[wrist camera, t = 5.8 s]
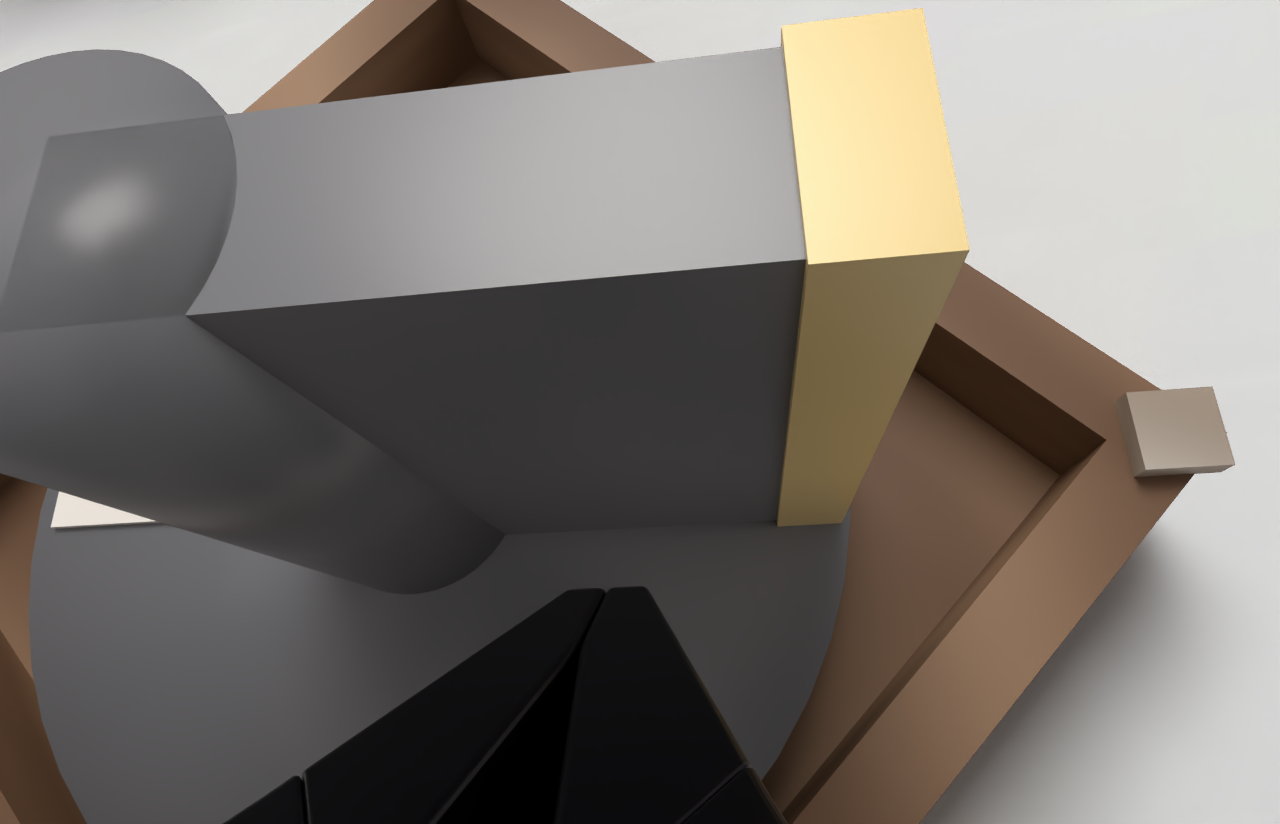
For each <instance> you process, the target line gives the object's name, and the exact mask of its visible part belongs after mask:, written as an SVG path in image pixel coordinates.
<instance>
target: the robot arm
mask: <svg viewBox="0 0 1280 824" xmlns="http://www.w3.org/2000/svg"><path fill="white" fill-rule="evenodd" d="M223 824H788V823H787V821H786V819H785V818H784V816H783V815H782V813H781V812H780V810H779V809H778V807H777V806H776V804H775V803H774V801H773V799H772V798H771V796H770V794H769V793H768V791H767V789H766V787H765V786H764V784H763V782H762V781H761V779H760V777H759V776H758V774H757V772H756V771H755V770H754V769H753V768H752V767H751V764H750V762H749V761H748V759H747V757H746V755H745V754H744V752H743V750H742V749H741V747H740V745H739V743H738V742H737V740H736V738H735V737H734V735H733V733H732V731H731V730H730V728H729V726H728V725H727V723H726V721H725V719H724V718H723V716H722V714H721V713H720V711H719V709H718V707H717V706H716V704H715V702H714V701H713V699H712V697H711V696H710V694H709V692H708V690H707V689H706V687H705V685H704V684H703V682H702V680H701V678H700V677H699V675H698V673H697V672H696V670H695V668H694V666H693V665H692V663H691V661H690V660H689V658H688V656H687V654H686V653H685V651H684V649H683V648H682V646H681V644H680V642H679V641H678V639H677V637H676V636H675V634H674V632H673V630H672V629H671V627H670V625H669V624H668V622H667V620H666V618H665V617H664V615H663V613H662V612H661V610H660V608H659V606H658V605H657V603H656V601H655V600H654V598H653V596H652V594H651V593H650V591H649V590H648V589H647V588H646V587H644V586H632V587H613V588H611V589H609V590H608V591H607V593H606V591H605V590H603V589H601V588H589V589H571V590H567V591H565V592H564V593H562V594H561V595H559V596H558V597H556V598H555V599H553V600H552V601H551V602H549V603H548V604H546V605H545V606H543V607H542V608H540V609H539V610H537V611H536V612H534V613H533V614H532V615H530V616H529V617H527V618H526V619H524V620H523V621H521V622H520V623H518V624H517V625H516V626H514V627H513V628H511V629H510V630H508V631H507V632H505V633H504V634H502V635H501V636H499V637H498V638H497V639H495V640H494V641H492V642H491V643H489V644H488V645H486V646H485V647H483V648H482V649H481V650H479V651H478V652H476V653H475V654H473V655H472V656H470V657H469V658H467V659H466V660H464V661H463V662H462V663H460V664H459V665H457V666H456V667H454V668H453V669H451V670H450V671H448V672H447V673H445V674H444V675H443V676H441V677H440V678H438V679H437V680H435V681H434V682H432V683H431V684H429V685H428V686H426V687H425V688H424V689H422V690H421V691H419V692H418V693H416V694H415V695H413V696H412V697H410V698H409V699H407V700H406V701H405V702H403V703H402V704H400V705H399V706H397V707H396V708H394V709H393V710H391V711H390V712H388V713H387V714H386V715H384V716H383V717H381V718H380V719H378V720H377V721H375V722H374V723H372V724H371V725H369V726H368V727H367V728H365V729H364V730H362V731H361V732H359V733H358V734H356V735H355V736H353V737H352V738H350V739H349V740H348V741H346V742H345V743H343V744H342V745H340V746H339V747H337V748H336V749H334V750H333V751H331V752H330V753H329V754H327V755H326V756H324V757H323V758H321V759H320V760H318V761H317V762H315V763H314V764H312V765H311V766H310V767H308V768H307V769H305V770H304V771H303V773H302V779H301V777H300V776H292V777H291V778H289V779H288V780H286V781H285V782H283V783H282V784H281V785H279V786H278V787H276V788H275V789H273V790H272V791H270V792H269V793H268V794H266V795H265V796H263V797H262V798H260V799H259V800H257V801H256V802H254V803H253V804H251V805H250V806H248V807H247V808H245V809H244V810H242V811H241V812H239V813H238V814H236V815H235V816H233V817H232V818H230V819H229V820H227V821H226V822H224V823H223Z"/></svg>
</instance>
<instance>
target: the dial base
mask: <svg viewBox="0 0 1280 824" xmlns="http://www.w3.org/2000/svg"><path fill="white" fill-rule="evenodd" d="M654 62H655V61H653V60H651V59H650V58H648V57H647V56H645V55H644V54H642V53H641V52H639V51H638V50H636V49H634V48H633V47H631V46H630V45H628V44H627V43H625V42H624V41H622V40H621V39H619V38H618V37H616V36H614V35H613V34H611V33H610V32H608V31H607V30H605V29H604V28H602V27H601V26H599V25H597V24H596V23H594V22H593V21H591V20H590V19H588V18H587V17H585V16H584V15H582V14H580V13H579V12H577V11H576V10H574V9H573V8H571V7H570V6H568V5H567V4H565V3H564V2H562V1H560V0H374V1H373V2H371V3H370V4H369V5H368V6H367V7H366V8H364V9H363V10H362V11H361V12H360V13H359V14H357V15H356V16H355V17H354V18H353V19H352V20H350V21H349V22H348V23H347V24H346V25H345V26H343V27H342V28H341V29H340V30H339V31H337V32H336V33H335V34H334V35H333V36H332V37H330V38H329V39H328V40H327V41H326V42H325V43H323V44H322V45H321V46H320V47H319V48H318V49H316V50H315V51H314V52H313V53H312V54H310V55H309V56H308V57H307V58H306V59H305V60H303V61H302V62H301V63H300V64H299V65H298V66H296V67H295V68H294V69H293V70H292V71H291V72H289V73H288V74H287V75H286V76H285V77H284V78H282V79H281V80H280V81H279V82H278V83H276V84H275V85H274V86H273V87H272V88H271V89H269V90H268V91H267V92H266V93H265V94H264V95H262V96H261V97H260V98H259V99H258V100H257V101H255V102H254V103H253V104H252V105H251V106H250V107H248V108H247V109H246V110H245V111H244V112H242V113H245V112H253V111H261V110H269V109H278V108H286V107H294V106H302V105H310V104H318V103H327V102H335V101H343V100H351V99H359V98H368V97H376V96H384V95H392V94H400V93H408V92H417V91H425V90H433V89H441V88H449V87H458V86H466V85H474V84H482V83H490V82H498V81H507V80H515V79H523V78H531V77H539V76H548V75H556V74H564V73H572V72H580V71H589V70H597V69H605V68H613V67H621V66H629V65H638V64H646V63H654ZM1226 433H1227V432H1226V431H1225V428H1224V424H1223V421H1222V418H1221V414H1220V411H1219V407H1218V404H1217V401H1216V397H1215V394H1214V390H1213V387H1200V388H1185V389H1171V390H1161V389H1159V388H1158V387H1156V386H1154V385H1153V384H1151V383H1150V382H1148V381H1147V380H1145V379H1144V378H1142V377H1141V376H1139V375H1137V374H1136V373H1134V372H1133V371H1131V370H1130V369H1128V368H1127V367H1125V366H1124V365H1122V364H1121V363H1119V362H1117V361H1116V360H1114V359H1113V358H1111V357H1110V356H1108V355H1107V354H1105V353H1104V352H1102V351H1100V350H1099V349H1097V348H1096V347H1094V346H1093V345H1091V344H1090V343H1088V342H1087V341H1085V340H1083V339H1082V338H1080V337H1079V336H1077V335H1076V334H1074V333H1073V332H1071V331H1070V330H1068V329H1067V328H1065V327H1063V326H1062V325H1060V324H1059V323H1057V322H1056V321H1054V320H1053V319H1051V318H1050V317H1048V316H1046V315H1045V314H1043V313H1042V312H1040V311H1039V310H1037V309H1036V308H1034V307H1033V306H1031V305H1029V304H1028V303H1026V302H1025V301H1023V300H1022V299H1020V298H1019V297H1017V296H1016V295H1014V294H1013V293H1011V292H1009V291H1008V290H1006V289H1005V288H1003V287H1002V286H1000V285H999V284H997V283H996V282H994V281H992V280H991V279H989V278H988V277H986V276H985V275H983V274H982V273H980V272H979V271H977V270H975V269H974V268H972V267H971V266H969V265H968V264H966V263H965V262H964V263H963V265H962V267H961V269H960V271H959V274H958V276H957V278H956V280H955V282H954V284H953V286H952V289H951V291H950V293H949V295H948V297H947V299H946V301H945V303H944V306H943V308H942V310H941V312H940V314H939V316H938V318H937V321H936V323H935V325H934V327H933V329H932V331H931V333H930V336H929V338H928V340H927V342H926V344H925V346H924V348H923V350H922V353H921V355H920V357H919V359H918V361H917V363H916V365H915V368H914V370H913V372H912V374H911V376H910V378H909V380H908V383H907V385H906V387H905V389H904V391H903V393H902V395H901V397H900V400H899V402H898V404H897V406H896V408H895V410H894V412H893V415H892V417H891V419H890V421H889V423H888V425H887V427H886V430H885V432H884V434H883V436H882V438H881V440H880V442H879V444H878V447H877V449H876V451H875V453H874V455H873V457H872V459H871V462H870V464H869V466H868V468H867V470H866V472H865V474H864V476H863V479H862V481H861V483H860V485H859V487H858V489H857V491H856V494H855V496H854V498H853V500H852V502H851V504H850V527H849V538H848V550H847V561H846V572H845V581H844V585H843V590H842V594H841V598H840V603H839V607H838V612H837V616H836V620H835V625H834V629H833V634H832V638H831V641H830V644H829V647H828V649H827V652H826V655H825V657H824V660H823V663H822V665H821V668H820V671H819V673H818V676H817V679H816V681H815V684H814V687H813V690H812V692H811V695H810V698H809V700H808V702H807V704H806V706H805V708H804V710H803V711H802V713H801V715H800V717H799V719H798V721H797V723H796V724H795V726H794V728H793V730H792V732H791V734H790V736H789V738H788V739H787V741H786V743H785V745H784V747H783V749H782V751H781V752H780V754H779V756H778V758H777V760H776V761H775V762H774V764H773V765H772V767H771V768H770V769H769V771H768V772H767V773H766V775H765V776H764V778H763V779H762V780H761V781H762V782H763V784H764V786H765V787H766V789H767V791H768V793H769V794H770V796H771V798H772V799H773V801H774V803H775V804H776V806H777V807H778V809H779V810H780V812H781V813H782V815H783V816H784V818H785V819H786V821H787V823H788V824H919V823H920V822H921V821H922V820H923V818H924V817H925V816H926V814H927V813H928V812H929V811H930V809H931V808H932V807H933V806H934V804H935V803H936V802H937V800H938V799H939V798H940V797H941V795H942V794H943V793H944V792H945V790H946V789H947V788H948V786H949V785H950V784H951V783H952V781H953V780H954V779H955V778H956V776H957V775H958V774H959V772H960V771H961V770H962V769H963V767H964V766H965V765H966V764H967V762H968V761H969V760H970V759H971V757H972V756H973V755H974V753H975V752H976V751H977V750H978V748H979V747H980V746H981V745H982V743H983V742H984V741H985V739H986V738H987V737H988V736H989V734H990V733H991V732H992V731H993V729H994V728H995V727H996V725H997V724H998V723H999V722H1000V720H1001V719H1002V718H1003V717H1004V715H1005V714H1006V713H1007V711H1008V710H1009V709H1010V708H1011V706H1012V705H1013V704H1014V703H1015V701H1016V700H1017V699H1018V698H1019V696H1020V695H1021V694H1022V692H1023V691H1024V690H1025V689H1026V687H1027V686H1028V685H1029V684H1030V682H1031V681H1032V680H1033V678H1034V677H1035V676H1036V675H1037V673H1038V672H1039V671H1040V670H1041V668H1042V667H1043V666H1044V664H1045V663H1046V662H1047V661H1048V659H1049V658H1050V657H1051V656H1052V654H1053V653H1054V652H1055V650H1056V649H1057V648H1058V647H1059V645H1060V644H1061V643H1062V642H1063V640H1064V639H1065V638H1066V637H1067V635H1068V634H1069V633H1070V631H1071V630H1072V629H1073V628H1074V626H1075V625H1076V624H1077V623H1078V621H1079V620H1080V619H1081V617H1082V616H1083V615H1084V614H1085V612H1086V611H1087V610H1088V609H1089V607H1090V606H1091V605H1092V603H1093V602H1094V601H1095V600H1096V598H1097V597H1098V596H1099V595H1100V593H1101V592H1102V591H1103V589H1104V588H1105V587H1106V586H1107V584H1108V583H1109V582H1110V581H1111V579H1112V578H1113V577H1114V576H1115V574H1116V573H1117V572H1118V570H1119V569H1120V568H1121V567H1122V565H1123V564H1124V563H1125V562H1126V560H1127V559H1128V558H1129V556H1130V555H1131V554H1132V553H1133V551H1134V550H1135V549H1136V548H1137V546H1138V545H1139V544H1140V542H1141V541H1142V540H1143V539H1144V537H1145V536H1146V535H1147V534H1148V532H1149V531H1150V530H1151V528H1152V527H1153V526H1154V525H1155V523H1156V522H1157V521H1158V520H1159V518H1160V517H1161V516H1162V515H1163V513H1164V512H1165V511H1166V509H1167V508H1168V507H1169V506H1170V504H1171V503H1172V502H1173V501H1174V499H1175V498H1176V497H1177V495H1178V494H1179V493H1180V492H1181V490H1182V489H1183V488H1184V487H1185V485H1186V484H1187V483H1188V481H1189V480H1190V479H1191V478H1192V476H1193V475H1194V474H1197V473H1215V472H1222V471H1224V470H1226V469H1228V468H1230V467H1232V466H1234V465H1235V462H1234V458H1233V455H1232V451H1231V448H1230V445H1229V441H1228V438H1227V435H1226ZM46 491H47V487H44V486H40V485H37V484H34V483H31V482H27V481H24V480H21V479H18V478H14V477H11V476H8V475H5V474H1V473H0V824H87V823H86V821H85V819H84V817H83V816H82V814H81V812H80V810H79V808H78V806H77V804H76V802H75V800H74V798H73V796H72V795H71V793H70V791H69V789H68V787H67V785H66V783H65V781H64V779H63V777H62V776H61V774H60V771H59V768H58V766H57V763H56V760H55V757H54V754H53V751H52V748H51V746H50V743H49V740H48V737H47V734H46V731H45V728H44V725H43V723H42V719H41V714H40V709H39V703H38V698H37V693H36V688H35V683H34V678H33V673H32V668H31V652H30V636H29V621H28V609H29V593H30V576H31V562H32V556H33V550H34V545H35V539H36V534H37V528H38V523H39V517H40V512H41V508H42V505H43V501H44V498H45V495H46Z"/></svg>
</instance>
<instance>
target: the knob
mask: <svg viewBox="0 0 1280 824" xmlns="http://www.w3.org/2000/svg"><path fill="white" fill-rule="evenodd" d="M968 252H969V244H968V239H967V234H966V229H965V224H964V219H963V213H962V208H961V203H960V198H959V193H958V188H957V182H956V177H955V172H954V167H953V162H952V157H951V151H950V146H949V141H948V136H947V131H946V126H945V121H944V115H943V110H942V105H941V100H940V95H939V90H938V84H937V79H936V74H935V69H934V64H933V59H932V53H931V48H930V43H929V38H928V33H927V28H926V22H925V17H924V12H923V8H919V9H911V10H903V11H895V12H887V13H879V14H871V15H863V16H855V17H847V18H839V19H831V20H823V21H815V22H807V23H799V24H791V25H783V26H782V28H781V47H777V48H769V49H760V50H752V51H744V52H736V53H728V54H719V55H711V56H703V57H695V58H687V59H679V60H670V61H662V62H654V63H646V64H638V65H629V66H621V67H613V68H605V69H597V70H589V71H580V72H572V73H564V74H556V75H548V76H539V77H531V78H523V79H515V80H507V81H498V82H490V83H482V84H474V85H466V86H458V87H449V88H441V89H433V90H425V91H417V92H408V93H400V94H392V95H384V96H376V97H368V98H359V99H351V100H343V101H335V102H327V103H318V104H310V105H302V106H294V107H286V108H278V109H269V110H261V111H253V112H245V113H237V114H227V113H226V112H225V111H224V110H223V109H222V108H221V107H220V105H219V104H218V103H217V102H216V101H215V100H214V99H213V98H212V97H211V95H210V94H209V93H208V92H207V91H206V90H205V89H204V88H203V87H202V86H201V85H200V84H199V83H198V82H197V81H196V80H194V79H193V78H192V77H190V76H189V75H188V74H186V73H185V72H184V71H182V70H180V69H178V68H176V67H174V66H172V65H170V64H169V63H167V62H165V61H162V60H159V59H156V58H153V57H150V56H147V55H143V54H139V53H133V52H127V51H121V50H85V51H73V52H67V53H62V54H57V55H51V56H47V57H43V58H40V59H36V60H33V61H30V62H26V63H23V64H20V65H18V66H15V67H13V68H10V69H7V70H5V71H2V72H0V473H1V474H5V475H8V476H11V477H14V478H18V479H21V480H24V481H27V482H31V483H34V484H37V485H40V486H44V487H47V491H46V495H45V498H44V501H43V505H42V508H41V512H40V517H39V523H38V528H37V534H36V539H35V545H34V550H33V556H32V562H31V576H30V593H29V609H28V621H29V636H30V652H31V668H32V673H33V678H34V683H35V688H36V693H37V698H38V703H39V709H40V714H41V719H42V723H43V725H44V728H45V731H46V734H47V737H48V740H49V743H50V746H51V748H52V751H53V754H54V757H55V760H56V763H57V766H58V768H59V771H60V774H61V776H62V777H63V779H64V781H65V783H66V785H67V787H68V789H69V791H70V793H71V795H72V796H73V798H74V800H75V802H76V804H77V806H78V808H79V810H80V812H81V814H82V816H83V817H84V819H85V821H86V823H87V824H223V823H224V822H226V821H227V820H229V819H230V818H232V817H233V816H235V815H236V814H238V813H239V812H241V811H242V810H244V809H245V808H247V807H248V806H250V805H251V804H253V803H254V802H256V801H257V800H259V799H260V798H262V797H263V796H265V795H266V794H268V793H269V792H270V791H272V790H273V789H275V788H276V787H278V786H279V785H281V784H282V783H283V782H285V781H286V780H288V779H289V778H291V777H292V776H300V777H301V779H302V773H303V771H304V770H305V769H307V768H308V767H310V766H311V765H312V764H314V763H315V762H317V761H318V760H320V759H321V758H323V757H324V756H326V755H327V754H329V753H330V752H331V751H333V750H334V749H336V748H337V747H339V746H340V745H342V744H343V743H345V742H346V741H348V740H349V739H350V738H352V737H353V736H355V735H356V734H358V733H359V732H361V731H362V730H364V729H365V728H367V727H368V726H369V725H371V724H372V723H374V722H375V721H377V720H378V719H380V718H381V717H383V716H384V715H386V714H387V713H388V712H390V711H391V710H393V709H394V708H396V707H397V706H399V705H400V704H402V703H403V702H405V701H406V700H407V699H409V698H410V697H412V696H413V695H415V694H416V693H418V692H419V691H421V690H422V689H424V688H425V687H426V686H428V685H429V684H431V683H432V682H434V681H435V680H437V679H438V678H440V677H441V676H443V675H444V674H445V673H447V672H448V671H450V670H451V669H453V668H454V667H456V666H457V665H459V664H460V663H462V662H463V661H464V660H466V659H467V658H469V657H470V656H472V655H473V654H475V653H476V652H478V651H479V650H481V649H482V648H483V647H485V646H486V645H488V644H489V643H491V642H492V641H494V640H495V639H497V638H498V637H499V636H501V635H502V634H504V633H505V632H507V631H508V630H510V629H511V628H513V627H514V626H516V625H517V624H518V623H520V622H521V621H523V620H524V619H526V618H527V617H529V616H530V615H532V614H533V613H534V612H536V611H537V610H539V609H540V608H542V607H543V606H545V605H546V604H548V603H549V602H551V601H552V600H553V599H555V598H556V597H558V596H559V595H561V594H562V593H564V592H565V591H567V590H571V589H589V588H601V589H603V590H605V591H606V593H607V591H608V590H609V589H611V588H613V587H632V586H644V587H646V588H647V589H648V590H649V591H650V593H651V594H652V596H653V598H654V600H655V601H656V603H657V605H658V606H659V608H660V610H661V612H662V613H663V615H664V617H665V618H666V620H667V622H668V624H669V625H670V627H671V629H672V630H673V632H674V634H675V636H676V637H677V639H678V641H679V642H680V644H681V646H682V648H683V649H684V651H685V653H686V654H687V656H688V658H689V660H690V661H691V663H692V665H693V666H694V668H695V670H696V672H697V673H698V675H699V677H700V678H701V680H702V682H703V684H704V685H705V687H706V689H707V690H708V692H709V694H710V696H711V697H712V699H713V701H714V702H715V704H716V706H717V707H718V709H719V711H720V713H721V714H722V716H723V718H724V719H725V721H726V723H727V725H728V726H729V728H730V730H731V731H732V733H733V735H734V737H735V738H736V740H737V742H738V743H739V745H740V747H741V749H742V750H743V752H744V754H745V755H746V757H747V759H748V761H749V762H750V764H751V767H752V768H753V769H754V770H755V771H756V772H757V774H758V776H759V777H760V779H761V780H762V779H763V778H764V776H765V775H766V773H767V772H768V771H769V769H770V768H771V767H772V765H773V764H774V762H775V761H776V760H777V758H778V756H779V754H780V752H781V751H782V749H783V747H784V745H785V743H786V741H787V739H788V738H789V736H790V734H791V732H792V730H793V728H794V726H795V724H796V723H797V721H798V719H799V717H800V715H801V713H802V711H803V710H804V708H805V706H806V704H807V702H808V700H809V698H810V695H811V692H812V690H813V687H814V684H815V681H816V679H817V676H818V673H819V671H820V668H821V665H822V663H823V660H824V657H825V655H826V652H827V649H828V647H829V644H830V641H831V638H832V634H833V629H834V625H835V620H836V616H837V612H838V607H839V603H840V598H841V594H842V590H843V585H844V581H845V572H846V561H847V550H848V538H849V527H850V504H851V502H852V500H853V498H854V496H855V494H856V491H857V489H858V487H859V485H860V483H861V481H862V479H863V476H864V474H865V472H866V470H867V468H868V466H869V464H870V462H871V459H872V457H873V455H874V453H875V451H876V449H877V447H878V444H879V442H880V440H881V438H882V436H883V434H884V432H885V430H886V427H887V425H888V423H889V421H890V419H891V417H892V415H893V412H894V410H895V408H896V406H897V404H898V402H899V400H900V397H901V395H902V393H903V391H904V389H905V387H906V385H907V383H908V380H909V378H910V376H911V374H912V372H913V370H914V368H915V365H916V363H917V361H918V359H919V357H920V355H921V353H922V350H923V348H924V346H925V344H926V342H927V340H928V338H929V336H930V333H931V331H932V329H933V327H934V325H935V323H936V321H937V318H938V316H939V314H940V312H941V310H942V308H943V306H944V303H945V301H946V299H947V297H948V295H949V293H950V291H951V289H952V286H953V284H954V282H955V280H956V278H957V276H958V274H959V271H960V269H961V267H962V265H963V263H964V261H965V259H966V256H967V254H968Z"/></svg>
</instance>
